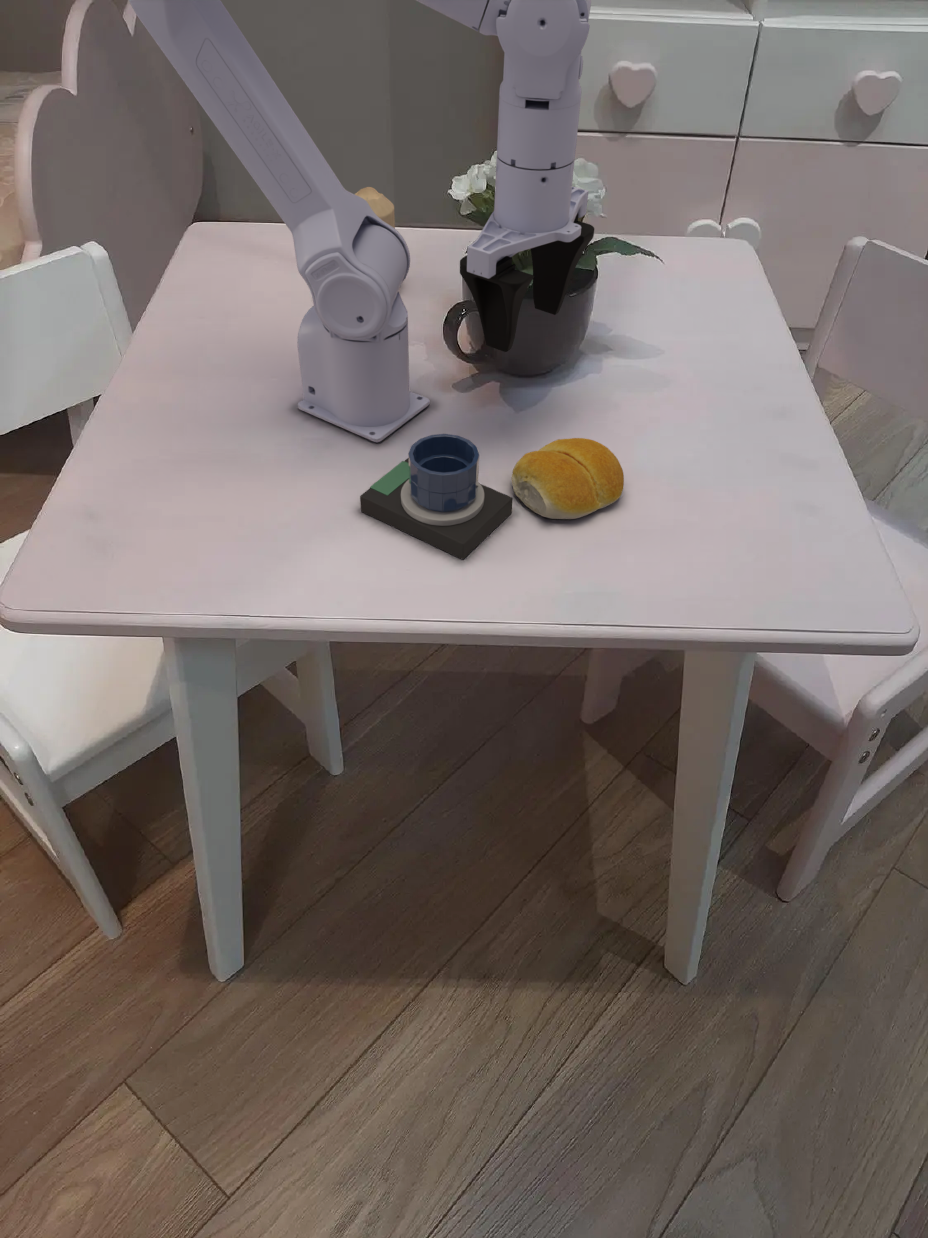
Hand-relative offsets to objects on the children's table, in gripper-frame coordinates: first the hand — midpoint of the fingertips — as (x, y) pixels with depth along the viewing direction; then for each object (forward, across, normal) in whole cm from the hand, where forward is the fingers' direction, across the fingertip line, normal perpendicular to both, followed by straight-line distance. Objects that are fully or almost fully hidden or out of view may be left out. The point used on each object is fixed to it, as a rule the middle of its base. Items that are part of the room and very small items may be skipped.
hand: (523, 328), depth 78 cm
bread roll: (+10, -6, -9) cm, 14 cm away
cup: (+7, -14, -2) cm, 16 cm away
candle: (+9, +13, +27) cm, 31 cm away
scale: (+9, -14, -2) cm, 17 cm away
